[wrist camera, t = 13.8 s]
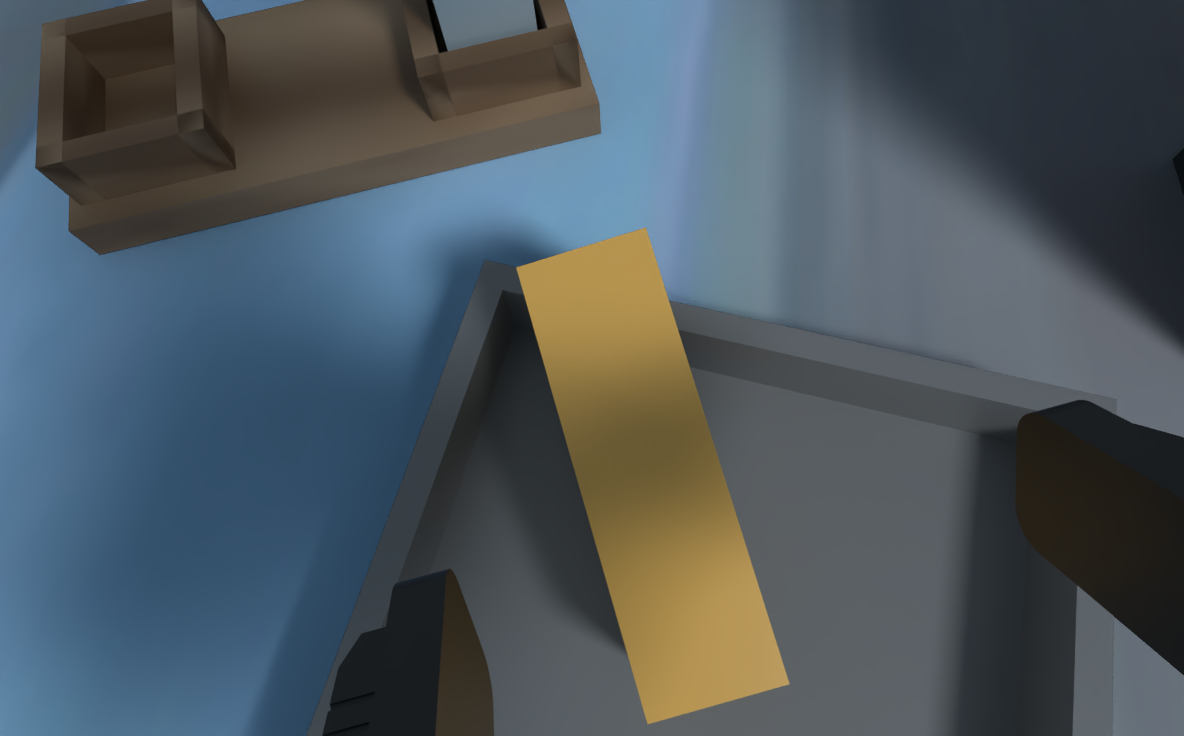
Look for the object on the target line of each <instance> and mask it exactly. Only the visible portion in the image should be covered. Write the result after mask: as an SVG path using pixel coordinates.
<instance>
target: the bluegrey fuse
mask: <svg viewBox="0 0 1184 736" xmlns="http://www.w3.org/2000/svg"><path fill="white" fill-rule="evenodd" d="M433 3H434V6H435V9H436V13H437V16H438V19H439V23H440V26H441V29H442V33H443V36H444V40H445V43H446V46H447V50H448V51H451V50H456V49H460V48H464V47H469V46H473V45H477V44H481V43H486V42H490V41H494V40H498V39H503V38H507V37H511V36H516V35H520V34H524V33H528V32H533V31H537V24H536V17H535V10H534V3H533V0H433Z"/></svg>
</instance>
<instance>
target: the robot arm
mask: <svg viewBox="0 0 1184 736" xmlns="http://www.w3.org/2000/svg"><path fill="white" fill-rule="evenodd" d="M1015 506H1016V515H1017V519H1018V522H1019V525H1020V527H1021V529H1022V531H1023V533H1024V535H1025V537H1026V538H1027V540H1028V541H1029V543H1030V544H1031V545H1032V546H1033V548H1034V549H1035V550H1036V551H1037V552H1038V553H1039V554H1041V555H1042V556H1043V557H1044V558H1045V559H1047V560H1048V561H1049V562H1050V563H1051V564H1052V565H1054V566H1055V567H1056V568H1057V569H1058V570H1060V571H1061V572H1062V573H1063V574H1064V575H1066V576H1067V577H1068V578H1069V579H1070V580H1071V581H1073V582H1074V583H1075V584H1076V585H1077V586H1079V587H1080V588H1081V589H1082V590H1083V591H1084V592H1086V593H1087V594H1088V595H1089V596H1090V597H1092V598H1093V599H1094V600H1095V601H1096V602H1098V603H1099V604H1100V605H1101V606H1102V607H1103V608H1105V609H1106V610H1107V611H1108V612H1109V613H1111V614H1112V615H1113V616H1114V617H1115V618H1117V619H1118V620H1119V621H1120V622H1121V623H1122V624H1124V625H1125V626H1126V627H1127V628H1128V629H1130V630H1131V631H1132V632H1133V633H1134V634H1135V635H1137V636H1138V637H1139V638H1140V639H1141V640H1143V641H1144V642H1145V643H1146V644H1147V645H1149V646H1150V647H1151V648H1152V649H1153V650H1154V651H1156V652H1157V653H1158V654H1159V655H1160V656H1162V657H1163V658H1164V659H1165V660H1166V661H1167V662H1169V663H1170V664H1171V665H1172V666H1173V667H1175V668H1176V669H1177V670H1178V671H1179V672H1181V673H1182V674H1183V675H1184V438H1183V437H1180V436H1177V435H1173V434H1170V433H1166V432H1162V431H1159V430H1155V429H1151V428H1148V427H1144V426H1141V425H1137V424H1132V423H1130V422H1129V421H1127V420H1125V419H1123V418H1121V417H1119V416H1117V415H1115V414H1113V413H1111V412H1110V411H1108V410H1106V409H1104V408H1102V407H1100V406H1098V405H1096V404H1094V403H1092V402H1090V401H1087V400H1076V401H1072V402H1068V403H1065V404H1061V405H1057V406H1054V407H1050V408H1046V409H1043V410H1039V411H1035V412H1032V413H1028V414H1025V415H1024V416H1023V417H1022V418H1021V419H1020V421H1019V423H1018V427H1017V447H1016V501H1015ZM322 736H494V709H493V693H492V685H491V679H490V674H489V669H488V665H487V661H486V658H485V655H484V652H483V649H482V646H481V643H480V640H479V638H478V635H477V632H476V629H475V627H474V624H473V621H472V618H471V616H470V613H469V610H468V607H467V605H466V602H465V599H464V596H463V594H462V591H461V588H460V585H459V583H458V580H457V578H456V576H455V574H454V572H453V571H452V570H451V569H447V570H443V571H439V572H435V573H432V574H428V575H424V576H421V577H417V578H413V579H410V580H406V581H402V582H399V583H396V584H395V585H394V587H393V589H392V594H391V600H390V606H389V612H388V618H387V623H386V627H383V628H379V629H376V630H372V631H368V632H365V633H361V635H360V636H359V638H358V639H357V641H356V642H355V644H354V645H353V647H352V648H351V650H350V651H349V653H348V654H347V656H346V657H345V659H344V660H343V662H342V663H341V665H340V666H339V668H338V671H337V675H336V679H335V684H334V688H333V692H332V696H331V700H330V711H328V713H327V717H326V721H325V725H324V729H323V733H322Z"/></svg>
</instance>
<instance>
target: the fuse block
mask: <svg viewBox="0 0 1184 736" xmlns="http://www.w3.org/2000/svg"><path fill="white" fill-rule="evenodd" d="M533 3H534V10H535V17H536V24H537V31H533V32H528V33H524V34H520V35H516V36H511V37H507V38H503V39H498V40H494V41H490V42H486V43H481V44H477V45H473V46H469V47H464V48H460V49H456V50H451V51H448V50H447V46H446V43H445V40H444V36H443V33H442V29H441V26H440V23H439V19H438V16H437V13H436V9H435V6H434V3H433V0H304V1H300V2H295V3H291V4H286V5H282V6H278V7H273V8H269V9H264V10H260V11H256V12H251V13H247V14H243V15H238V16H234V17H229V18H225V19H221V20H216V21H215V20H214V18H213V17H212V15H211V14H210V12H209V11H208V9H207V8H206V6H205V4H204V3H203V1H202V0H146V1H142V2H137V3H133V4H128V5H124V6H119V7H115V8H110V9H106V10H102V11H97V12H93V13H88V14H84V15H79V16H75V17H71V18H66V19H62V20H57V21H53V22H48V23H44V24H42V42H41V62H40V83H39V104H38V125H37V146H36V166H35V168H36V169H37V170H39V171H40V172H41V173H42V174H43V175H45V176H46V177H47V178H48V179H49V180H51V181H52V182H53V183H54V184H55V185H57V186H58V187H59V188H60V189H61V190H63V191H64V192H65V193H66V194H68V195H69V232H71V233H72V234H73V235H74V236H76V237H77V238H78V239H80V240H81V241H82V242H84V243H85V244H86V245H88V246H89V247H90V248H91V249H93V250H94V251H95V252H97V253H98V254H99V255H101V254H105V253H109V252H113V251H117V250H121V249H126V248H130V247H134V246H138V245H142V244H146V243H150V242H154V241H159V240H163V239H167V238H171V237H175V236H179V235H183V234H187V233H192V232H196V231H200V230H204V229H208V228H212V227H216V226H220V225H225V224H229V223H233V222H237V221H241V220H245V219H249V218H253V217H258V216H262V215H266V214H270V213H274V212H278V211H282V210H286V209H291V208H295V207H299V206H303V205H307V204H311V203H315V202H319V201H324V200H328V199H332V198H336V197H340V196H344V195H348V194H352V193H357V192H361V191H365V190H369V189H373V188H377V187H381V186H385V185H389V184H394V183H398V182H402V181H406V180H410V179H414V178H418V177H422V176H427V175H431V174H435V173H439V172H443V171H447V170H451V169H455V168H460V167H464V166H468V165H472V164H476V163H480V162H484V161H488V160H493V159H497V158H501V157H505V156H509V155H513V154H517V153H521V152H526V151H530V150H534V149H538V148H542V147H546V146H550V145H554V144H559V143H563V142H567V141H571V140H575V139H579V138H583V137H587V136H592V135H596V134H600V133H601V126H600V108H599V101H598V98H597V95H596V92H595V89H594V86H593V84H592V81H591V78H590V75H589V72H588V69H587V66H586V63H585V60H584V57H583V54H582V51H581V48H580V45H579V42H578V39H577V36H576V33H575V30H574V27H573V24H572V21H571V18H570V15H569V13H568V10H567V7H566V4H565V1H564V0H533Z"/></svg>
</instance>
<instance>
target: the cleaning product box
mask: <svg viewBox="0 0 1184 736" xmlns="http://www.w3.org/2000/svg"><path fill="white" fill-rule="evenodd" d="M1172 160H1173V163H1174V166H1175V169H1176V172H1177V175H1178V178H1179V181H1180V184H1181V187H1182V190H1183V193H1184V149H1183V150H1182V151H1180V152H1179V153H1178V154H1177V155H1176V156H1175V157H1174V158H1173V159H1172Z"/></svg>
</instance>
